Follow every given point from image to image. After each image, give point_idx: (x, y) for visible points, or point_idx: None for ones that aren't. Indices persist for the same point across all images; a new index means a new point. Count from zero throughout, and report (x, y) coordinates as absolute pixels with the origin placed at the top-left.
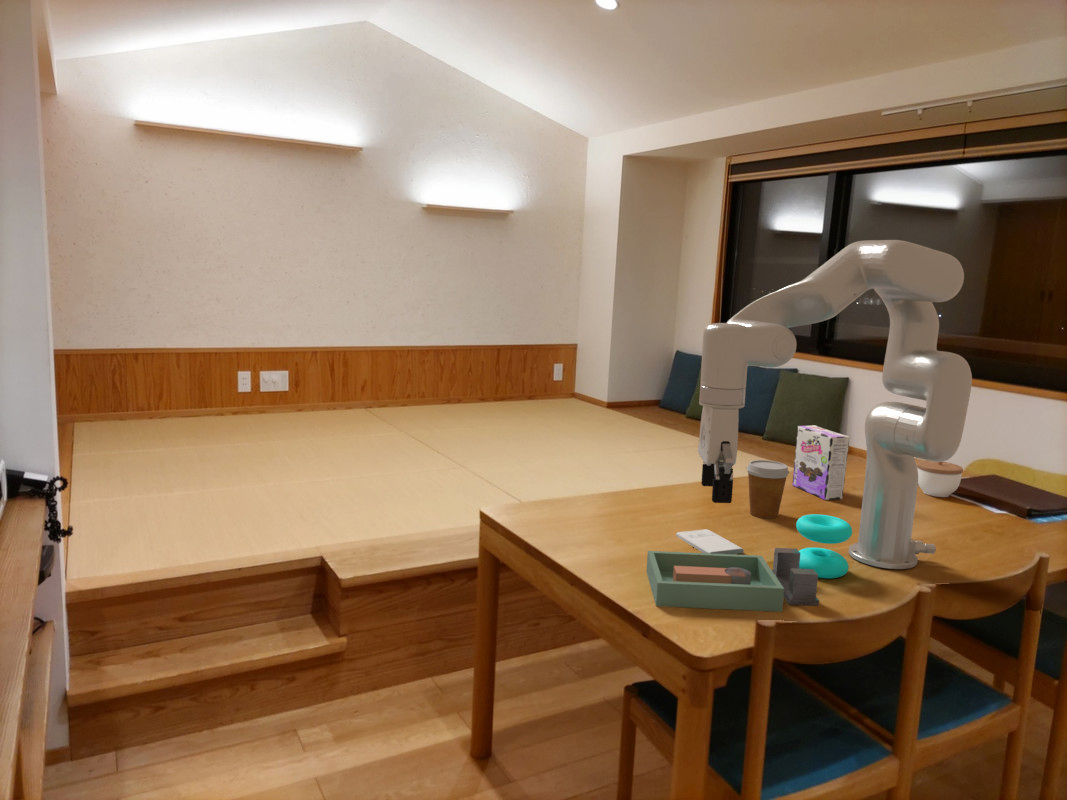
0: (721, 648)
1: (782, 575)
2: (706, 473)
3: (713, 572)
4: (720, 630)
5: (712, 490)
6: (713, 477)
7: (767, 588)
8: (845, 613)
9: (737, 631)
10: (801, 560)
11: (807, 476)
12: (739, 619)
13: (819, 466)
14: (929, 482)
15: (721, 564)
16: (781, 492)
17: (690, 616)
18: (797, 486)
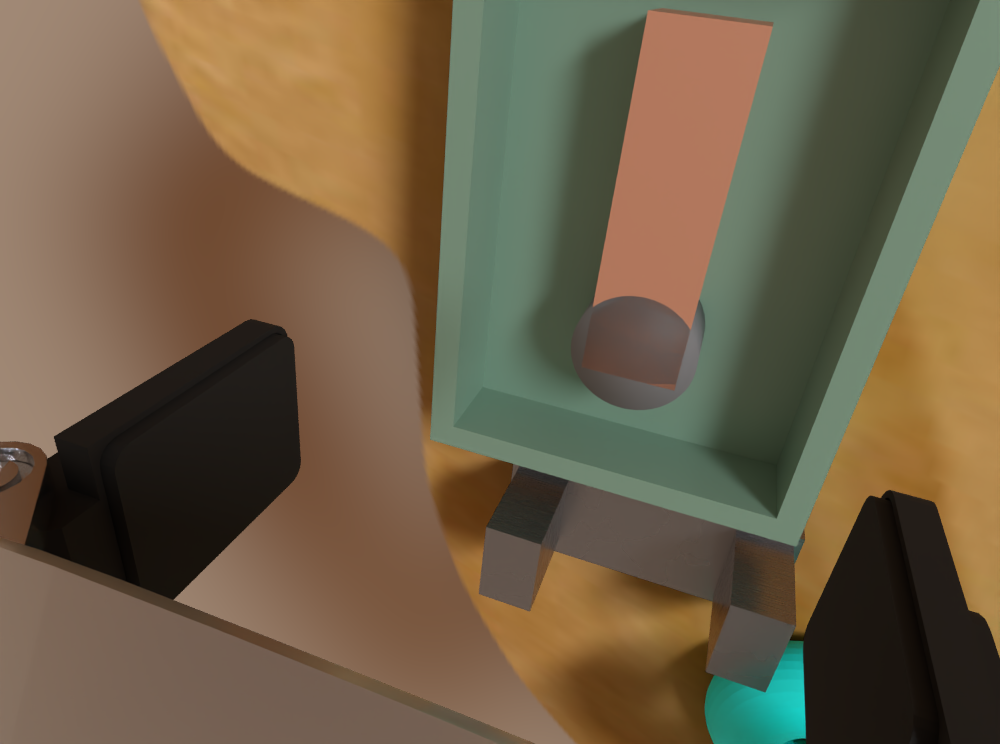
0: (187, 60)
1: (729, 550)
2: (879, 646)
3: (641, 237)
4: (310, 107)
5: (196, 370)
6: (836, 671)
7: (434, 383)
8: (462, 558)
9: (311, 170)
10: (802, 677)
11: None
12: (401, 218)
13: None
14: None
15: (831, 347)
16: None
17: (412, 14)
18: None
